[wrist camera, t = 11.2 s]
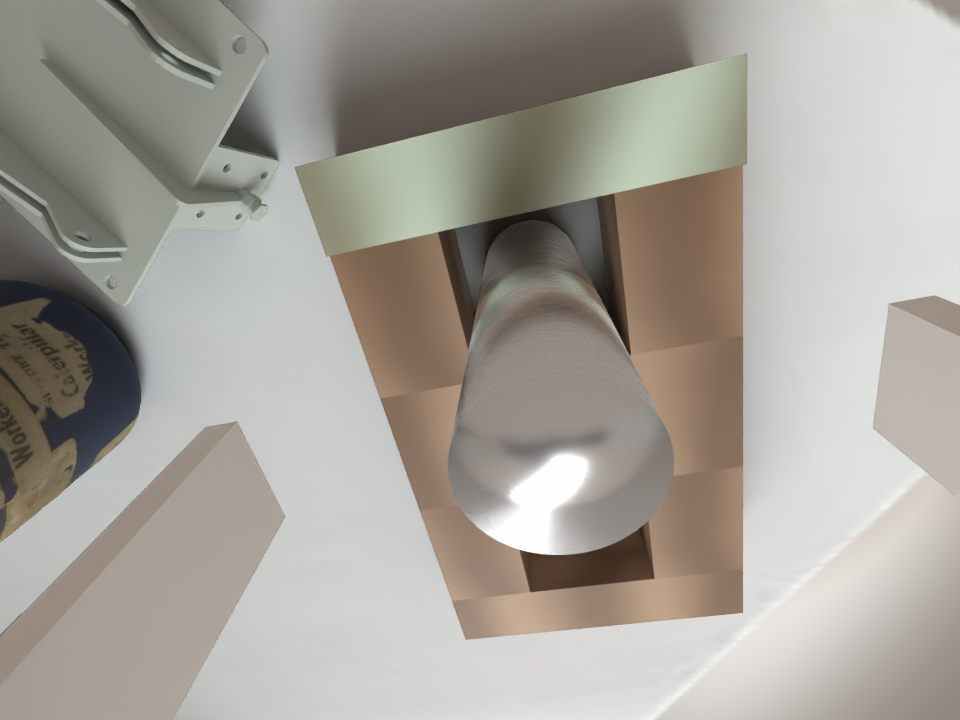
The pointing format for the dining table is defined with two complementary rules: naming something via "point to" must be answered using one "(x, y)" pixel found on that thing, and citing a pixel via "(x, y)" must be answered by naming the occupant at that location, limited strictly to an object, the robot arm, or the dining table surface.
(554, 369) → the steel pin
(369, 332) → the pin plate
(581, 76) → the dining table surface
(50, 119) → the metal bracket
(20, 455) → the canister
